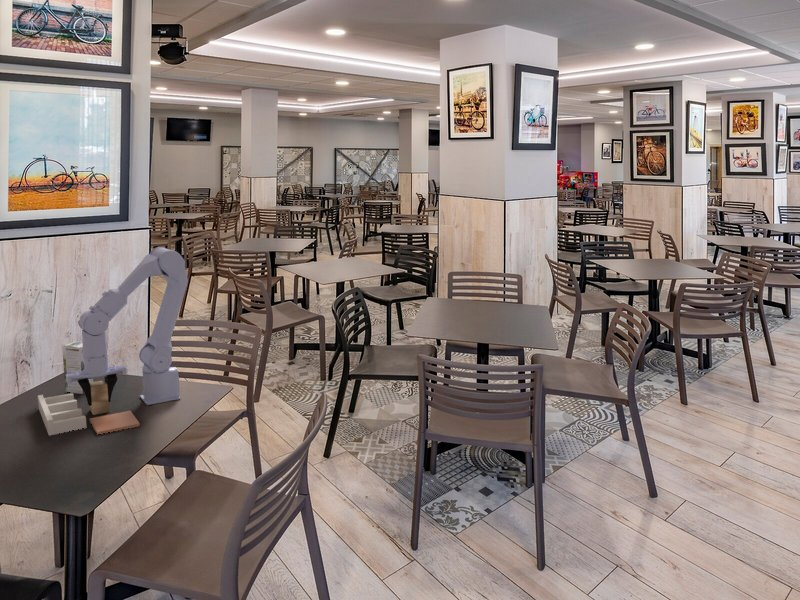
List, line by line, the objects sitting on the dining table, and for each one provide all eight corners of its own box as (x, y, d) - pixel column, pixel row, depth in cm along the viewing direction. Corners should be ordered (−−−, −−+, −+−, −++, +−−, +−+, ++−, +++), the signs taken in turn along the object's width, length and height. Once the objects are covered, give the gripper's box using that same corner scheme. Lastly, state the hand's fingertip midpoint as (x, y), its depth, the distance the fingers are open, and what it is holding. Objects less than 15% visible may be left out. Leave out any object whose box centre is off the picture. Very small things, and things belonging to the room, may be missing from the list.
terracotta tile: (130, 413, 159) (130, 410, 159) (139, 426, 152) (139, 423, 152) (89, 421, 154) (89, 418, 153) (97, 435, 146) (97, 432, 146)
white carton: (78, 386, 178) (74, 340, 175) (96, 387, 177) (92, 341, 174) (65, 392, 172) (60, 345, 170) (83, 394, 172) (79, 347, 169)
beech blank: (106, 407, 163) (104, 380, 161) (109, 411, 160) (107, 384, 158) (90, 410, 161) (88, 382, 159) (93, 415, 157) (90, 387, 156)
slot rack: (73, 403, 165) (72, 389, 164) (86, 427, 150) (85, 413, 149) (38, 409, 160) (37, 395, 159) (48, 435, 145) (47, 420, 144)
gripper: (121, 347, 164) (124, 393, 167) (62, 355, 156) (66, 403, 159) (127, 354, 159) (130, 400, 162) (66, 362, 150) (71, 412, 153)
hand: (99, 402), depth 160 cm, fingers closed on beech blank, 4 cm apart
